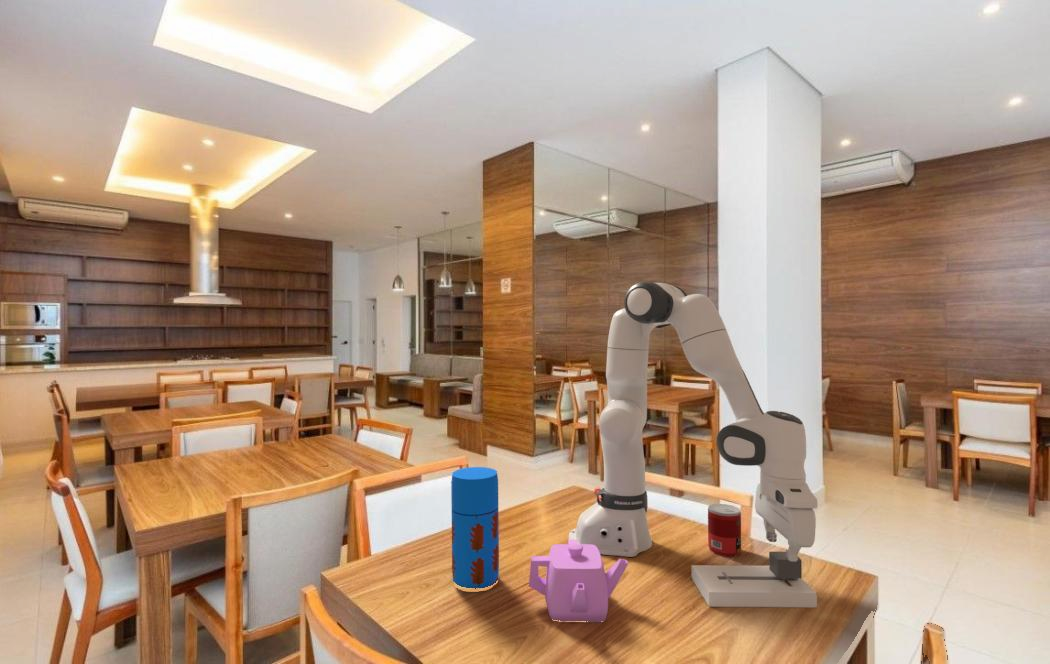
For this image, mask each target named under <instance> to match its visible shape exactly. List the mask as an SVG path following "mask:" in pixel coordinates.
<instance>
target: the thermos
mask: <svg viewBox="0 0 1050 664" xmlns="http://www.w3.org/2000/svg"><path fill="white" fill-rule="evenodd" d="M450 484H451V485H450V486H451V487H450V488H451V491H450V492H451V494H450V495H451V569H452V570H451V572H452V582H453V581H454V582H455V583H456V584H457V585H459V586H461V587H466V588H475V589H476V588H485V587H488V586H491V585H493V584H494V583H496V581H497V580H498V581H499V577H500V576H499V573H500V572H499V571H500V545H499V540H500V538H499V536H500V535H499V534H500V533H499V532H500V530H499V529H500V528H499V526H500V525H499V523H500V522H499V521H500V520H499V476H498V471H497V470H496V469H494V468H491V467H487V466H486V467H484V466H471V467H464V468H460V469H459V468H458V469H456V470H455V471H453V472H452V475H451V481H450Z"/></svg>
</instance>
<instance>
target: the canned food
mask: <svg viewBox="0 0 1050 664" xmlns="http://www.w3.org/2000/svg"><path fill="white" fill-rule="evenodd" d="M707 532H708V533H707V535H708V536H707V537H708V538H707V541H708V546H707V547H708V548H709V551H711V552H712V553H713V554H716V555H718V556H722V557H728V558H729V557H731V558H733V557H737V556H739V555H740V554H741V552H742V512H741V509H740V508H739V507H737V506H736V505H731V504H727V503H713V504H712V503H711V504H710V505H708V506H707Z"/></svg>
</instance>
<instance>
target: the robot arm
mask: <svg viewBox="0 0 1050 664" xmlns="http://www.w3.org/2000/svg"><path fill="white" fill-rule="evenodd" d="M623 302H624V303H623V304H624V308H621V309H619V310H617V311H616V312H614V314H613V316H612V318H611V320H610V325H609V326H610V327H609V332H608V338H607V348H606V349H607V350H606V364H605V365H606V367H605V379H606V386H607V387H606V388H607V405H606V406H605V407H604V408H603V409H602V411H601V413H600V415H599V418H598V420H599V421H598V428H599V435H600V444H601V449H602V456H603V486H604V487H603V488H600V487H599V486H595V487H594V488H593V493H594V495H595V496H596V502H595V503H594V504H593V505H591V506H590V507H589V508H587V509H586V510H584V511H583V512H581V513H580V515H578V520H577V523H576V528H573V529H572V530H570V531H569V534H568V539H569V540H578V544H591V545H595V546H596V547H597V548H598V550H599V552H600V555H607V556H618V557H629V558H633V557H637V555H638V554H639V553H641V552H645V551H647V550H649V549H650V548H651V547H652V546H653V540H652V538H651V534H650V530H649V523H648V518H647V517H648V516H647V512H648V505H649V504H648V503H649V502H648V491H647V490H646V460H645V454H644V444H643V441H644V440H643V429H644V427H645V426H646V423H647V418H648V365H649V351H650V350H649V348H650V345H649V343H650V335H651V332H652V331H653V330H654V329H655V328H656V329H661V328H664V327H668V326H669V327H670V326H672V327H673V328H674V329H675V331H676V334H677V336H678V339H679V342H680V345H681V347H682V350H683V353H684V355H685V358H686V360H687V362H688V363H689V365H690V366H691V368H692V369H693V370H694V371H696V372H698V374H701V375H704V376H706V377H707V378H709V379H711V380H713V381H714V383H716V384H717V385H719V386H720V387H721V390H722V392H724V395H725V397H726V399H727V402H728V404H729V406H730V409H731V411H732V413H733V415H734V417H735V422H733V423H730V424H727V425H726V426H724V427H722V428H721V429H720V431H718V433H717V436H716V447H717V451H718V452H719V454H720V457H722V459H723V460H725V462H727V463H729V464H731V465H733V466H745V467H746V466H747V467H748V466H749V467H750V466H753V467H755V466H758V467H759V469H760V472H759V474H760V475H759V477H760V478H759V479H760V483H758V484H757V485H756V489H755V497H754V498H755V499H754V509H755V513H756V514H757V515H758V516H760V517H761V518H762V519H763V526H764V530H765V538H766V540H767V541H769V542H770V543H776V542H777V539H778V535H777V533H776V531H777V532H778V533H779V534H780V535H782V536H783V537H784V538H785V539H786V540H787V545H788V548H787V549H786V550H785V552H786V558H787V559H788V560H789V561H794V562H796V561H797V560H798V557H799V553H800V550H801V549H802V548H812V546H814V544H815V541H816V524H817V523H816V522H817V521H816V520H817V519H816V518H817V517H816V513H815V509H818V502H819V501H818V499H817V497H816V496H815V495H814V493H813V492H812V489H810V487H809V485H808V483H806V482H807V481H806V479H807V478H806V477H807V475H806V471H805V461H806V459H807V436H806V429H805V425H804V423H803V421H802V420H801V419H800V418H799V417H797V416H796V415H793V414H791V413H788V412H784V411H779V410H767V411H766V412H764V411H763V409H762V408H761V405H760V404H759V401H758V399H757V397H756V395H755V392H754V391H753V388H752V386H751V383H750V381H749V379H748V377H747V375H746V373H745V371H744V370H743V367H742V365H741V362H740V361H739V359H738V357H737V354H736V352H735V349H734V346H733V344H732V341H731V338H730V336H729V333H728V330H727V327H726V325H725V323H724V322H723V319H722V316H721V315H720V312H719V310H717V307H716V306H715V304H714V303H713V301H712V300H711V298H710V297H709V296H707V295H705V294H702V293H693V294H692V293H691V294H687V292H685V291H684V290H683V289H682V288H680V287H678V286H676V285H671V284H669V283H666V282H654V281H653V282H652V281H641V282H638V283H636V284H633V285H632V286H630V288H629V289H628V290H627V292H626V294H625V296H624V299H623Z"/></svg>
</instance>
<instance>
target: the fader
mask: <svg viewBox="0 0 1050 664" xmlns="http://www.w3.org/2000/svg"><path fill="white" fill-rule="evenodd" d="M768 554H769V558H768V561H769V564H768V566H769V570H770V571H771V572H772V573H773V574H774V575H775V576H776V577H777V578H802V575H803V574H802V573H803V571H802V570H803V567H802V559H801V558H800V557H799V556H798V560H797V561H796V562H794V561H789V560H788V559H787V558H786V551H769V553H768ZM802 579H803V578H802Z"/></svg>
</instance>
